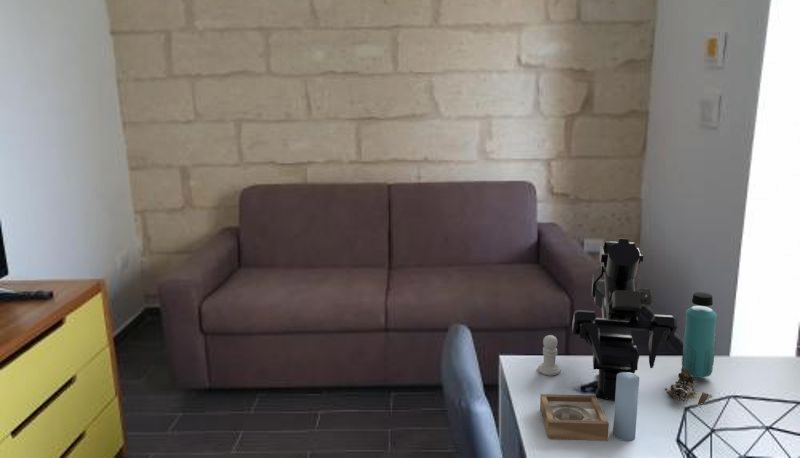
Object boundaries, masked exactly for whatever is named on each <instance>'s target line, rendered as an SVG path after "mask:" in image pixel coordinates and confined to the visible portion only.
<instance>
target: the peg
mask: <svg viewBox="0 0 800 458" xmlns="http://www.w3.org/2000/svg"><path fill="white" fill-rule="evenodd" d="M639 388H640V377H639V376H638V375H637V374H635V373H630V372H622V373H618V374H617V377H616V393H615V400H614V411H613V412H614V414H613V423H612V424H613V425H612V426H613V428H612V435H613V437H615V438H616V439H617V440H620V441H625V442H631V441H634V440H635V439H636V434H637V433H636V429H637V418H638V417H637V416H638V405H639V402H638V401H639V400H638V399H639V391H640V389H639Z"/></svg>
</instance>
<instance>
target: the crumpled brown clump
mask: <svg viewBox="0 0 800 458" xmlns="http://www.w3.org/2000/svg"><path fill="white" fill-rule="evenodd" d="M680 371H681V372H679V373H678V375H677V377H678V381H675V383H672V384H671V385H670V387H669V388H670V389H668V387H665V388H664V391H665V392H666V394H668V395H671V396H670V397H671V398H672V397H673V398H674V399H676V400H678V401H679V402H680V401H681V400H682V402H686V403H688V402H691V403H693V404H694V406H695V405H696V404H701V403H706V401H707V400H710V399H712V398H713V397H714V396H713V395H712V394H709V393H706V392H704V391H703V392H700V391H696V390H695V386H696V384H697V381H696V380H694V376H692V375H690V372H689V371H688V370H687V369H684V368H682V367H681V368H680ZM677 394H679V395H677ZM700 408H702V406H701V407H699V409H700Z"/></svg>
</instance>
